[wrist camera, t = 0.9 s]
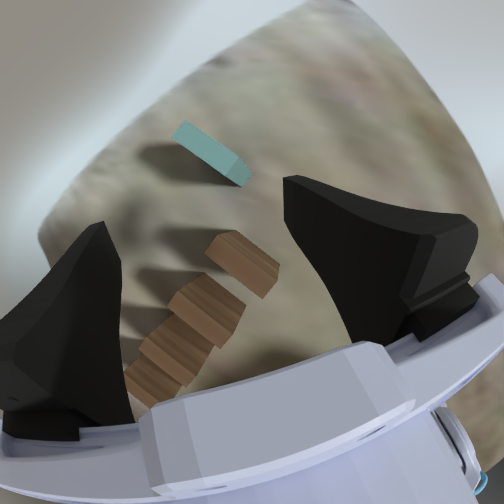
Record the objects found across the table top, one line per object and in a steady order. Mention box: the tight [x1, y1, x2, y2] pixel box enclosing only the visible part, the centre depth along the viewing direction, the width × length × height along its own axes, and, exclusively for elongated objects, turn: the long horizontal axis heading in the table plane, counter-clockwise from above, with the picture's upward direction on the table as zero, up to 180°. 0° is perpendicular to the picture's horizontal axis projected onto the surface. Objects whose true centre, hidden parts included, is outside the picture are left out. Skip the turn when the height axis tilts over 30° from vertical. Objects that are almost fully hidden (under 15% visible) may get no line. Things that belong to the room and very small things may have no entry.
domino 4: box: [123, 354, 182, 409], centre depth 25 cm, size 2×5×7 cm, turn 52°
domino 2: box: [167, 273, 246, 349], centre depth 23 cm, size 2×5×7 cm, turn 53°
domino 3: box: [138, 313, 214, 387], centre depth 24 cm, size 2×5×7 cm, turn 53°
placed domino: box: [171, 120, 252, 187], centre depth 22 cm, size 2×5×7 cm, turn 52°
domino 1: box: [204, 230, 280, 299], centre depth 22 cm, size 2×5×7 cm, turn 53°
